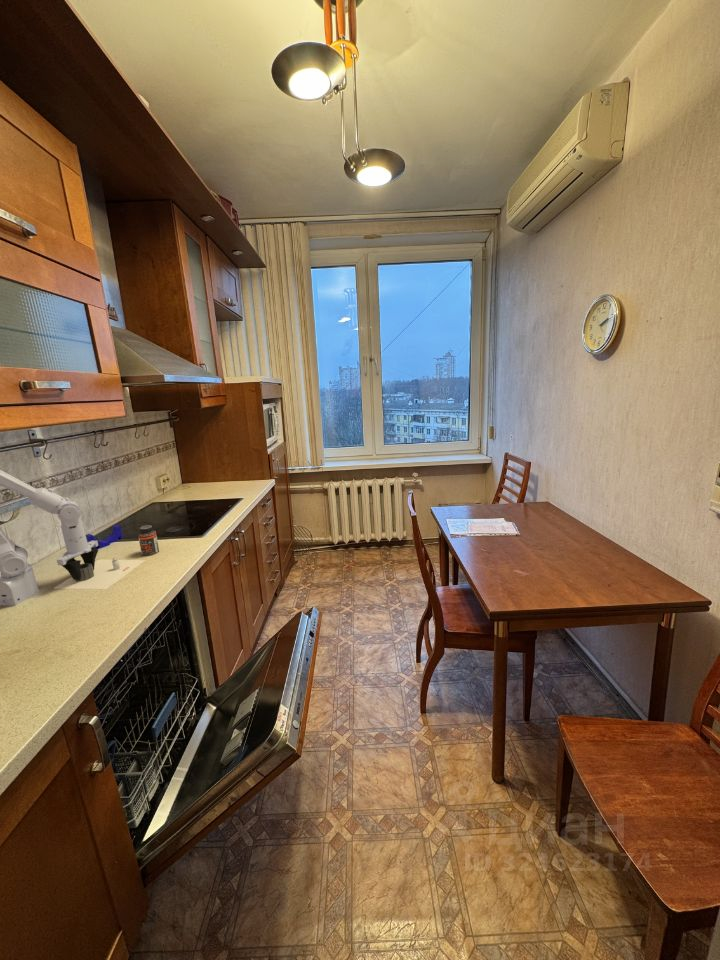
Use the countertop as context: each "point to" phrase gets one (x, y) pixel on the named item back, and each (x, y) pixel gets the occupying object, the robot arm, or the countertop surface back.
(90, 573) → the grey grooved ring
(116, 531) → the blue curved bracket
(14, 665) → the countertop surface
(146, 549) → the supplement bottle
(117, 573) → the socket plate
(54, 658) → the countertop surface
